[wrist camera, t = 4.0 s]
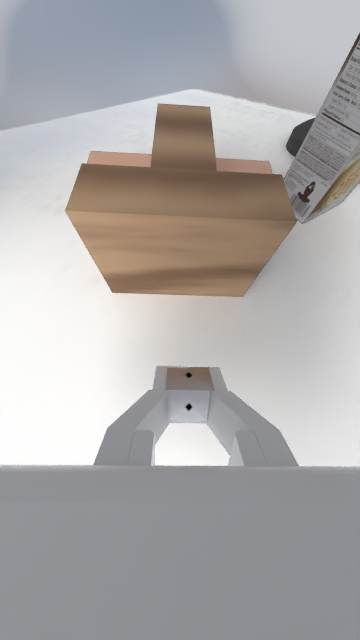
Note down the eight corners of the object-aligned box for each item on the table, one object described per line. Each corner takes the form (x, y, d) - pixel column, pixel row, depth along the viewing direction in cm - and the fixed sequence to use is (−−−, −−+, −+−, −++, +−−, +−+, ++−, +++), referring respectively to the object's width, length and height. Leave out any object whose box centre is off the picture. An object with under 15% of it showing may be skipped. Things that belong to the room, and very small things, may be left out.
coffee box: (310, 181, 30) (444, -24, 15) (341, 204, 28) (528, -5, 14) (271, 200, 28) (384, -19, 13) (302, 226, 26) (474, 5, 11)
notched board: (259, 204, 27) (272, 174, 24) (98, 196, 27) (86, 164, 23) (256, 191, 29) (268, 161, 25) (101, 183, 28) (90, 150, 24)
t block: (242, 296, 21) (296, 221, 12) (112, 292, 21) (65, 210, 11) (230, 207, 27) (260, 110, 18) (128, 202, 26) (104, 99, 17)
